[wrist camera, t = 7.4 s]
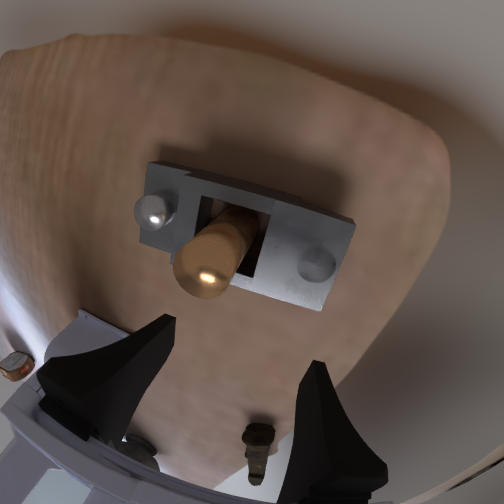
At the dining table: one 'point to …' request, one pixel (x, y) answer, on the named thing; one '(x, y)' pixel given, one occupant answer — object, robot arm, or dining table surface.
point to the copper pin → (215, 253)
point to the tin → (16, 366)
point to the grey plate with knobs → (276, 239)
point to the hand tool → (257, 449)
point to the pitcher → (139, 452)
